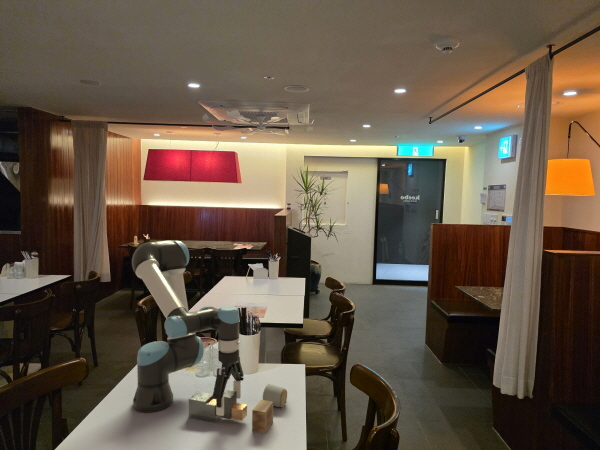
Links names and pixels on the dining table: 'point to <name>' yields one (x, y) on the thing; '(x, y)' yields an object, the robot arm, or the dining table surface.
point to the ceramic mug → (275, 395)
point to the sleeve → (202, 407)
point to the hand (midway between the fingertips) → (228, 406)
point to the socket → (262, 416)
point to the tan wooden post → (231, 406)
